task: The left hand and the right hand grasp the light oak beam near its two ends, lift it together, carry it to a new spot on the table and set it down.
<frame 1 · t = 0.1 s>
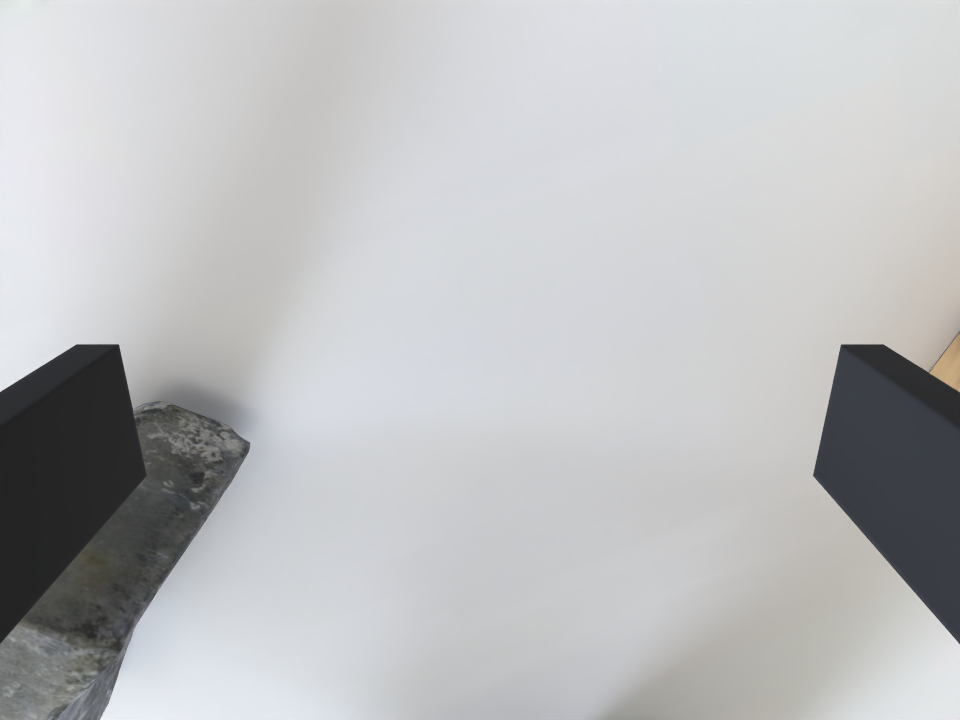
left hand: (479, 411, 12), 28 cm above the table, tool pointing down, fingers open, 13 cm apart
concrete block: (142, 532, 47), on the table
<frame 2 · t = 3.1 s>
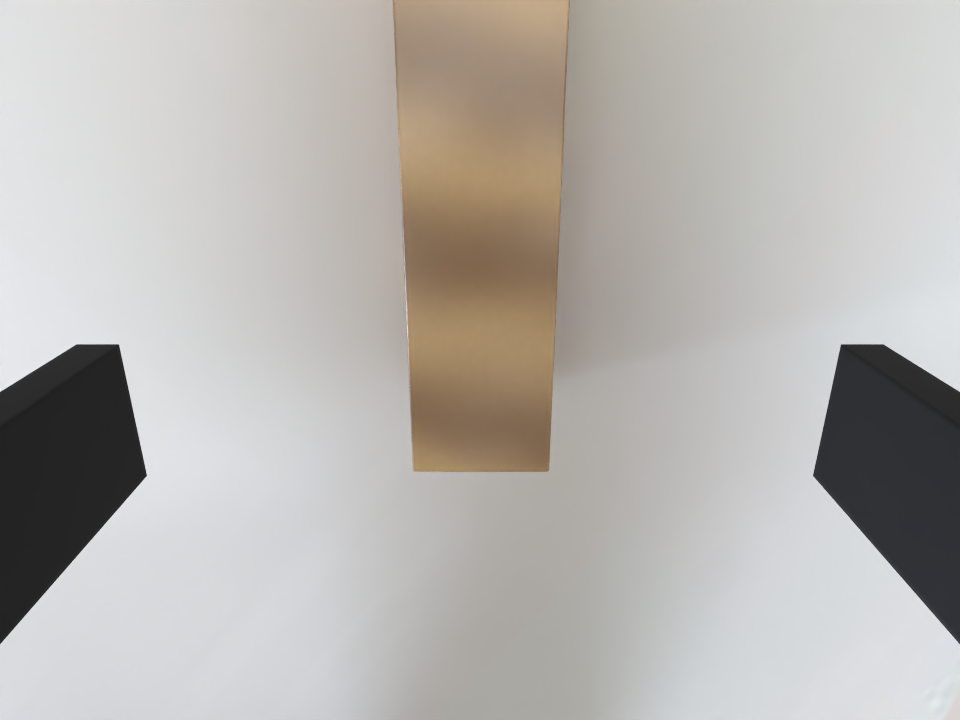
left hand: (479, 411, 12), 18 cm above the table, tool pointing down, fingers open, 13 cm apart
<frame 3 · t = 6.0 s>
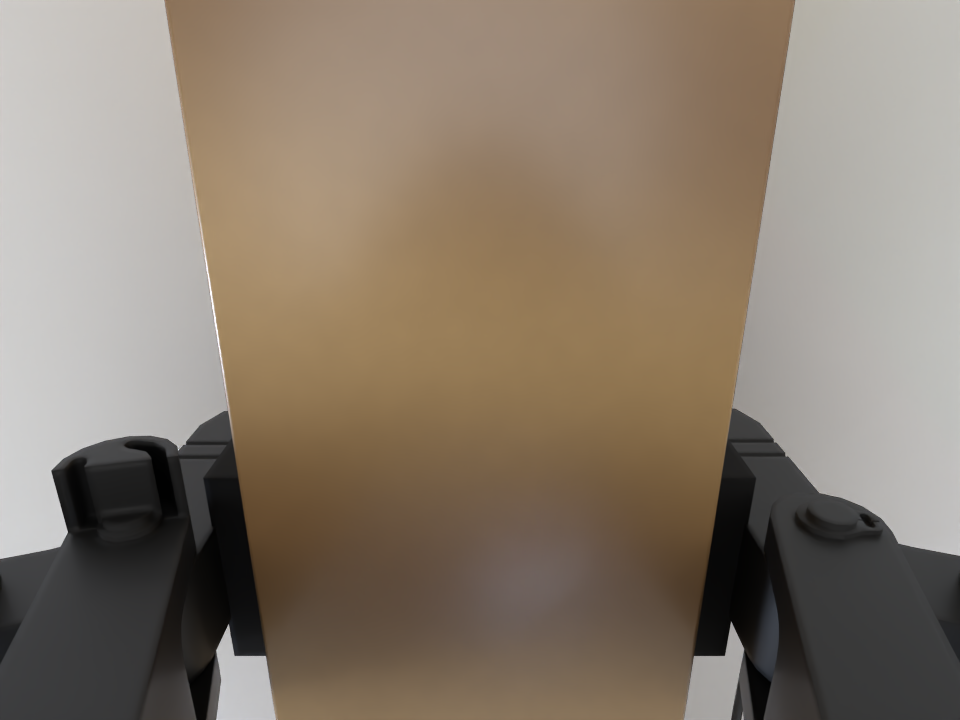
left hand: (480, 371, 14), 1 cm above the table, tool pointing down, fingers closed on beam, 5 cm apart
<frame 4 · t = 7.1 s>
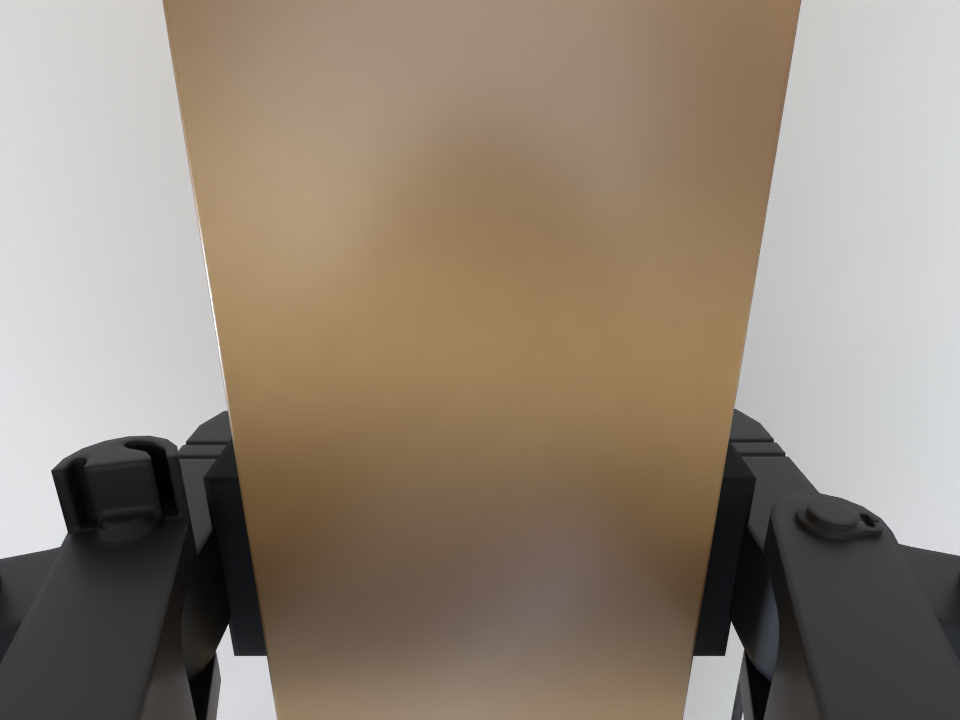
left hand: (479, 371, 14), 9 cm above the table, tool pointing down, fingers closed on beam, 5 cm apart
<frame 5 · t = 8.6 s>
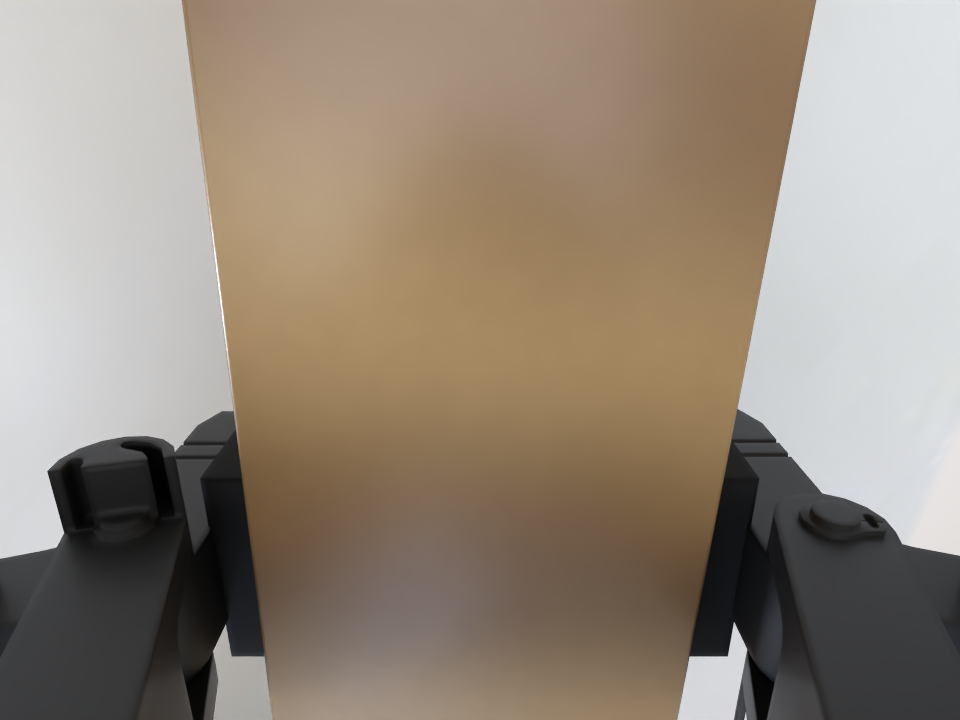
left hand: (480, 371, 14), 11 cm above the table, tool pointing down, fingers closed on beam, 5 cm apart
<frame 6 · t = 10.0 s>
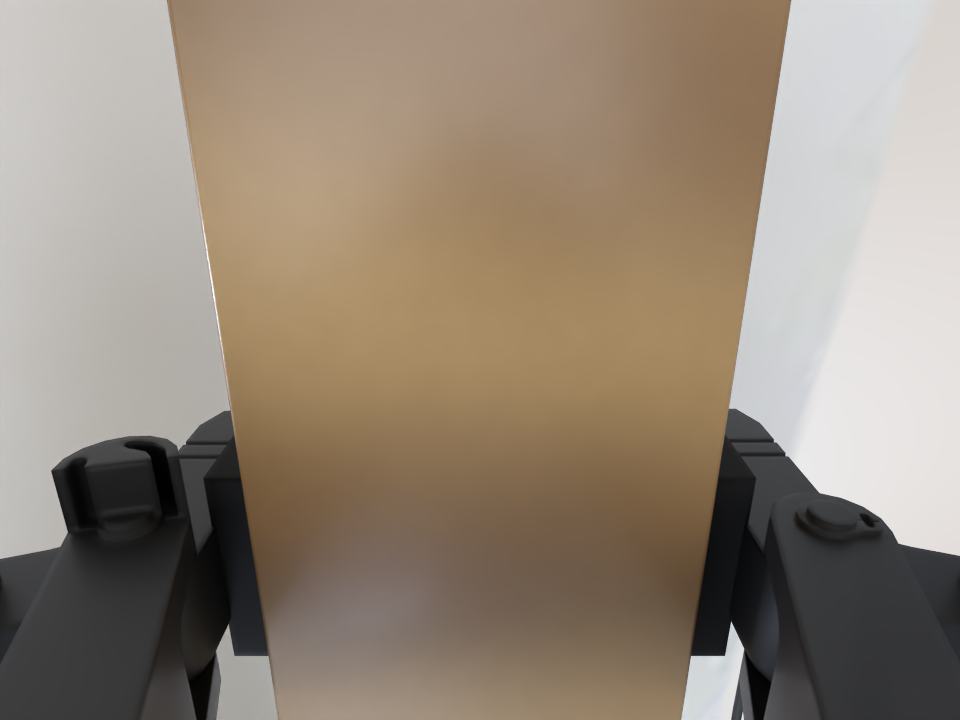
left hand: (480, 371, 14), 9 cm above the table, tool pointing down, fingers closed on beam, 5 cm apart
when the left hand's fingers open (2 cm above the table, at t = 11.2 s): beam drops 1 cm, on the table.
when the right hand's fingers open (5 cm above the table, at t = 11.4 s): beam stays where it is, on the table.
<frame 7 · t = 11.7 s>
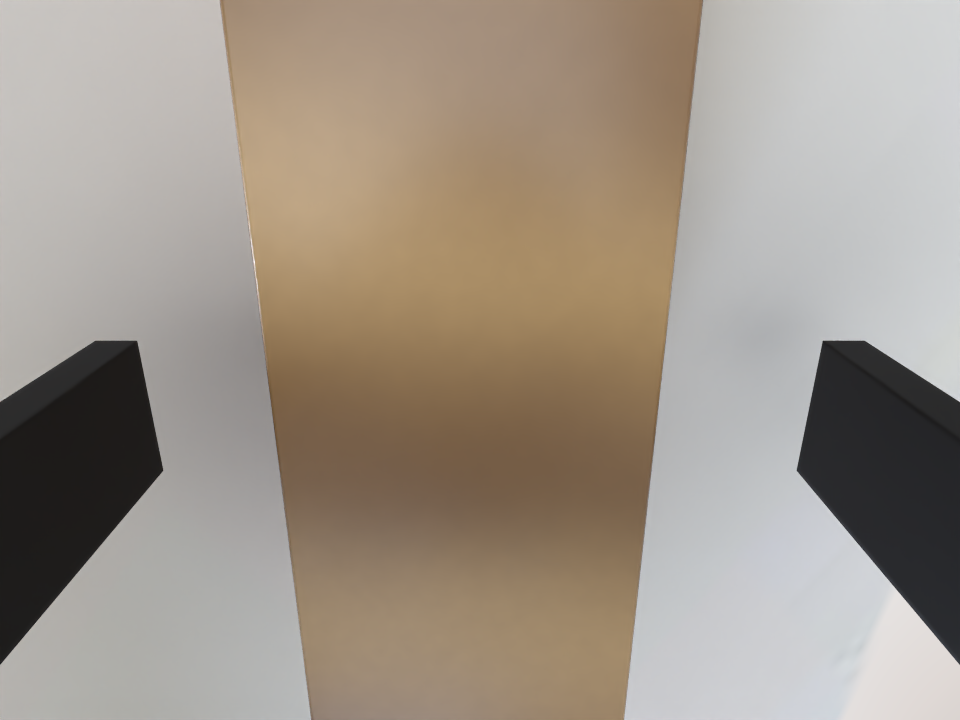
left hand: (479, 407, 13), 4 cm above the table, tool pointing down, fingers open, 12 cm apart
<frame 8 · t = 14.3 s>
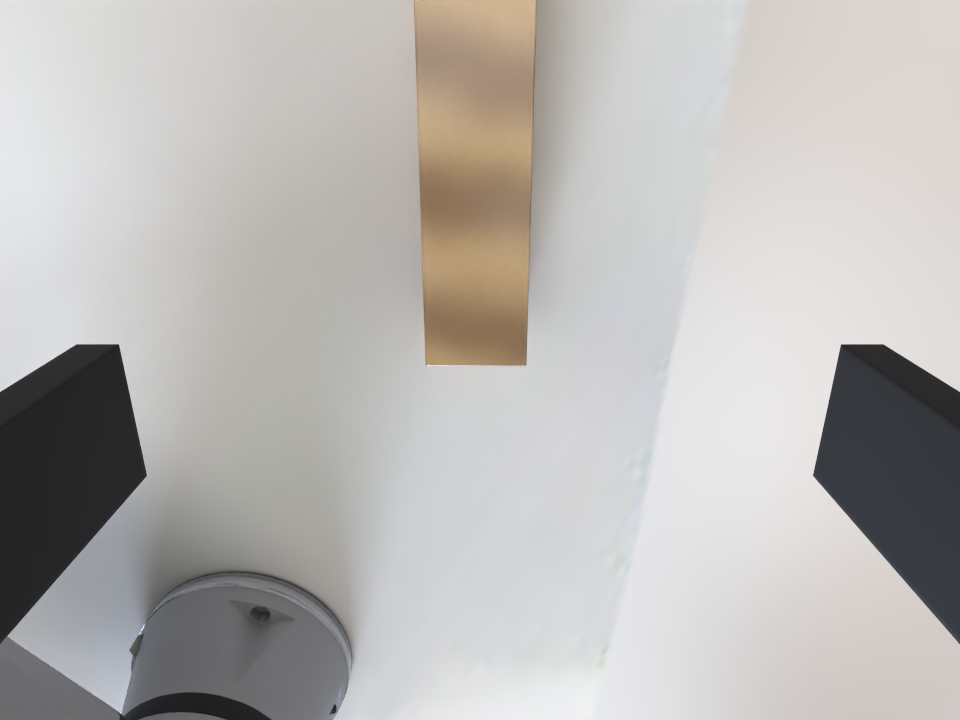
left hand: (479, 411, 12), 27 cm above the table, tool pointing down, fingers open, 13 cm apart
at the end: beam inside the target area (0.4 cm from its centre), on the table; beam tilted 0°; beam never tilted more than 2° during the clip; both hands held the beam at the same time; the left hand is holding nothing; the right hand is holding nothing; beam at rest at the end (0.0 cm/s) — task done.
